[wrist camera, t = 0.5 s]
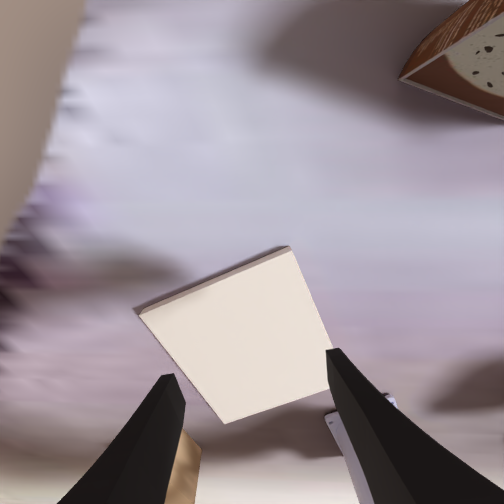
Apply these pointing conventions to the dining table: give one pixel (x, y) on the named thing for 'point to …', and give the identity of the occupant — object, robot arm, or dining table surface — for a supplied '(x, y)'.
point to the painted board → (246, 337)
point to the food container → (464, 58)
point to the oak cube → (184, 472)
